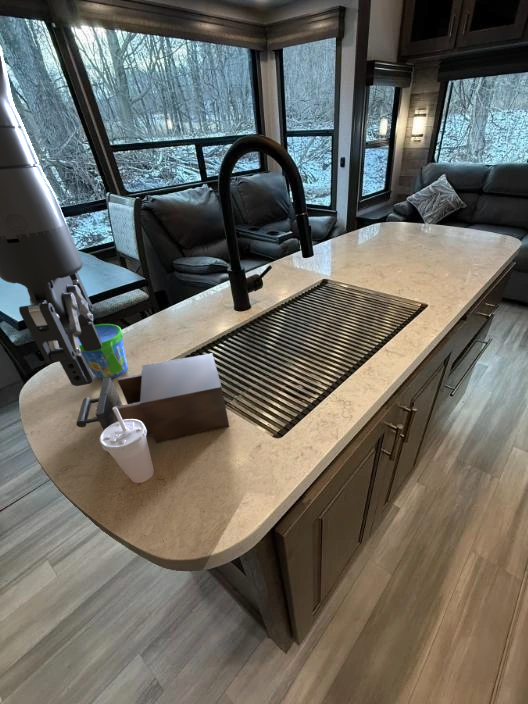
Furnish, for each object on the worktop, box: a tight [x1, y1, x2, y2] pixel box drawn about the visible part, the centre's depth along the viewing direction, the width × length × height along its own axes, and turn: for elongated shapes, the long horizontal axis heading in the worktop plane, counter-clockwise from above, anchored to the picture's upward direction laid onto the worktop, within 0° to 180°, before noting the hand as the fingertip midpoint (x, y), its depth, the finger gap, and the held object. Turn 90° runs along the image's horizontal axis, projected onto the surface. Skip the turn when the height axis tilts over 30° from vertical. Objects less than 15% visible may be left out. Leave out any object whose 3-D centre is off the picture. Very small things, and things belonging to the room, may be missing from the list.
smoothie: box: [99, 407, 155, 484], centre depth 51 cm, size 6×6×14 cm
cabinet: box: [140, 353, 230, 444], centre depth 65 cm, size 14×13×10 cm
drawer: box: [75, 373, 153, 437], centre depth 62 cm, size 17×11×8 cm
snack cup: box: [78, 323, 129, 380], centre depth 77 cm, size 16×10×10 cm
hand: (89, 365), depth 42 cm, fingers open, 8 cm apart
